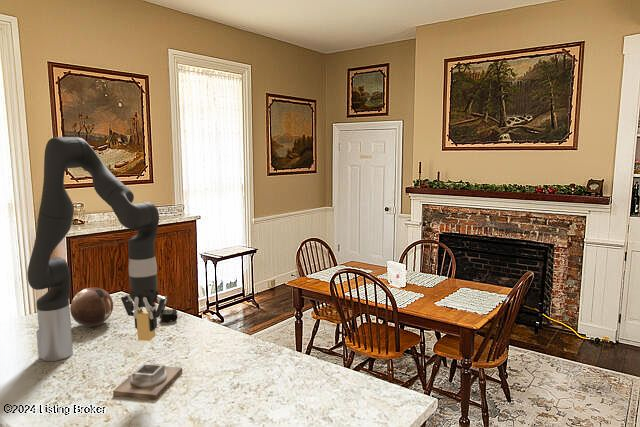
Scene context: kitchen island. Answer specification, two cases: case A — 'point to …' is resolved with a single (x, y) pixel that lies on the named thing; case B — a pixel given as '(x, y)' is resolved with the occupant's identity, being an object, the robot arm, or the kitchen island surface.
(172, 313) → the tape measure
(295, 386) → the kitchen island surface
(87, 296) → the wooden sphere
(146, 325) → the yellow rectangular block
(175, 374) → the rosette socket
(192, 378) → the kitchen island surface
